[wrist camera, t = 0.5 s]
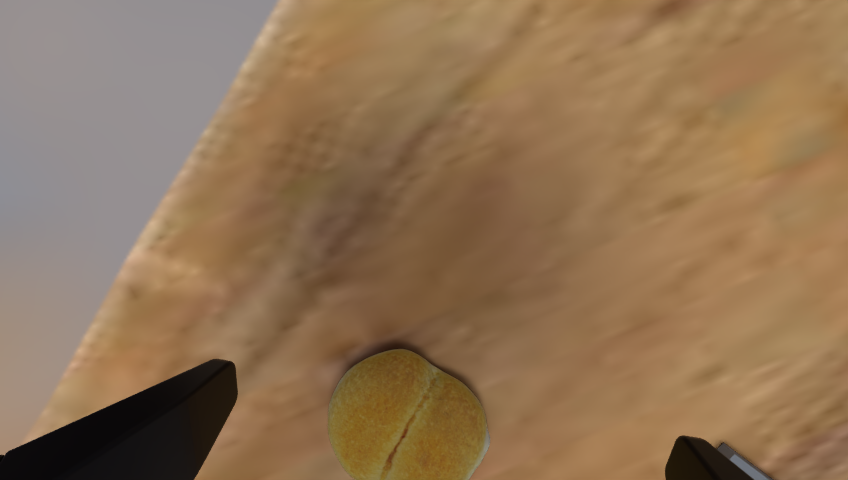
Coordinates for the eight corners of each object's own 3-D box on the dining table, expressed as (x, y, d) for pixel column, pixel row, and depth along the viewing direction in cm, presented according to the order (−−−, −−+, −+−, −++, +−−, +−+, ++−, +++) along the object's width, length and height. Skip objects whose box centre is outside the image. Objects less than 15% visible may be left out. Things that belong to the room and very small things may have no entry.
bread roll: (374, 321, 25) (355, 346, 21) (507, 401, 24) (513, 442, 20) (312, 431, 26) (282, 474, 22) (436, 508, 26) (429, 566, 22)
